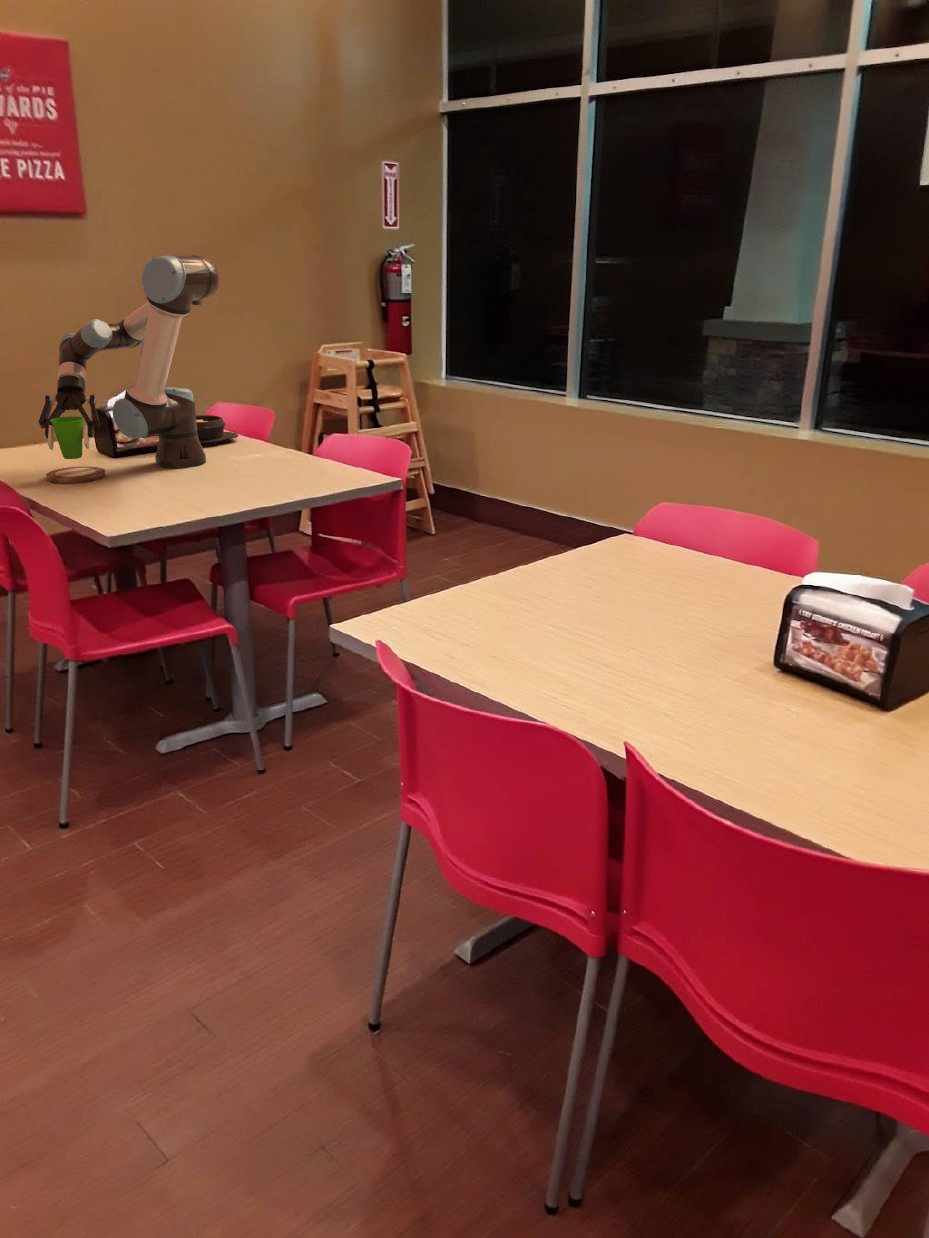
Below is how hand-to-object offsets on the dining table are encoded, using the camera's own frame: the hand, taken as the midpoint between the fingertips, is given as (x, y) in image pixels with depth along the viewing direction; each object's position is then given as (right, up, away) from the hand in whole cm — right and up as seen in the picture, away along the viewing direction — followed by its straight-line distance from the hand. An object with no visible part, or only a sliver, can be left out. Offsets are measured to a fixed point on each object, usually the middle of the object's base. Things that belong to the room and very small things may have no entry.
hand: (68, 446), depth 268 cm
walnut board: (0, -8, +6) cm, 10 cm away
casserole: (+23, +11, +55) cm, 61 cm away
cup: (-1, -3, +4) cm, 5 cm away
